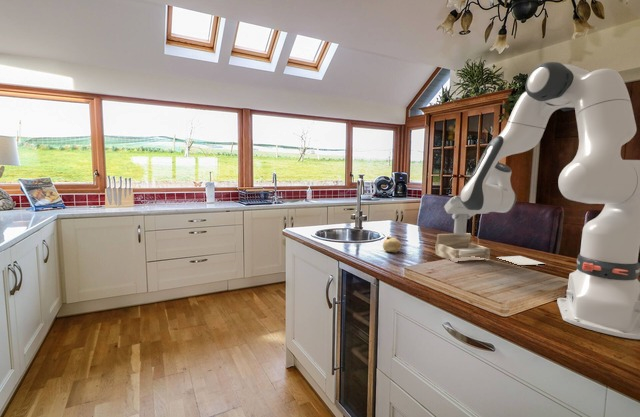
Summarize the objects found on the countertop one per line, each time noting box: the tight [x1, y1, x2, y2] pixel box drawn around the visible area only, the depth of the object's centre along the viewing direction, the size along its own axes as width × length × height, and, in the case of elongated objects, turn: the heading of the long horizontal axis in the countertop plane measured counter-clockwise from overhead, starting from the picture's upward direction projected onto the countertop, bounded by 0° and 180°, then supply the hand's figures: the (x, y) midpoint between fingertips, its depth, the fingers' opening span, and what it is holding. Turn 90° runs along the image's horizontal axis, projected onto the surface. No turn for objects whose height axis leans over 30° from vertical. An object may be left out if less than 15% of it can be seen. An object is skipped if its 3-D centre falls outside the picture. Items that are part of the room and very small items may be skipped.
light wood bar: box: [457, 248, 485, 258], centre depth 134 cm, size 4×12×4 cm, turn 104°
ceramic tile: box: [496, 255, 546, 266], centre depth 134 cm, size 12×12×1 cm
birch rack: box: [434, 232, 491, 260], centre depth 139 cm, size 14×16×9 cm
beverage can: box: [453, 214, 468, 235], centre depth 139 cm, size 5×5×12 cm
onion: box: [382, 236, 402, 254], centre depth 147 cm, size 8×8×7 cm
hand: (460, 217), depth 139 cm, fingers closed on beverage can, 5 cm apart
